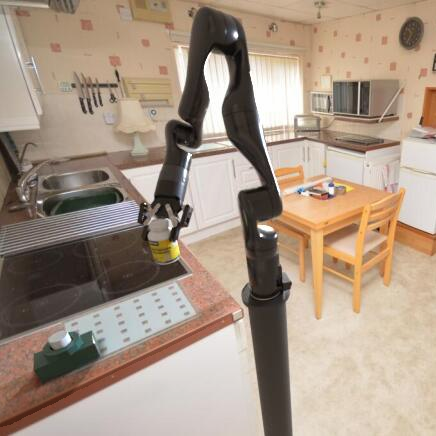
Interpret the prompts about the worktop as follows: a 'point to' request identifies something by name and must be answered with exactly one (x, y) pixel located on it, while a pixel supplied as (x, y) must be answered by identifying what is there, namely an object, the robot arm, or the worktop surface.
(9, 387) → the worktop surface
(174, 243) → the pill bottle
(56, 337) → the white short cylinder
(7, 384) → the worktop surface
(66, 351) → the button base
